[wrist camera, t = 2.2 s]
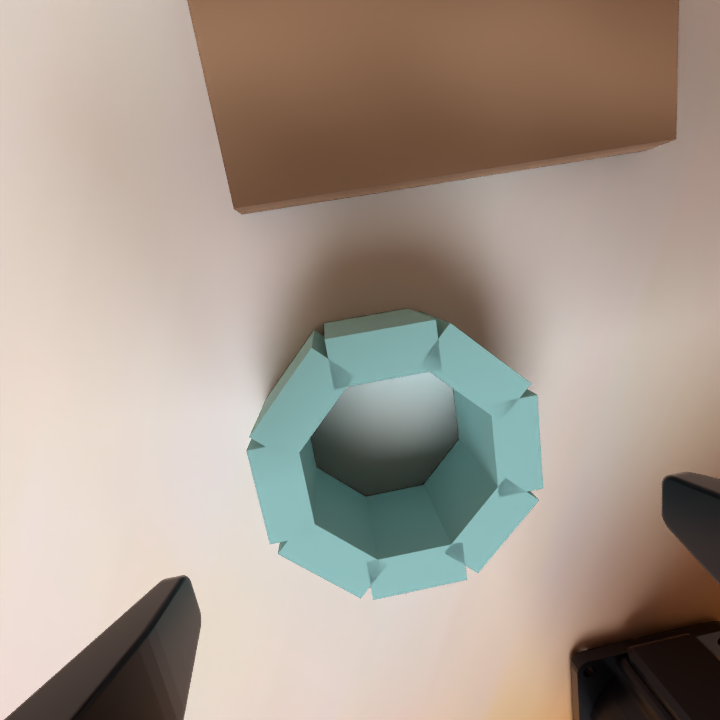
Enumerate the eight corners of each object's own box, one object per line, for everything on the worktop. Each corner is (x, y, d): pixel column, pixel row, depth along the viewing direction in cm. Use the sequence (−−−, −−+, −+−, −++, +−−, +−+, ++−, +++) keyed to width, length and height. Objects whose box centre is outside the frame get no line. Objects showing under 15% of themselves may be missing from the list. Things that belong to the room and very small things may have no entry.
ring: (500, 500, 14) (548, 562, 11) (295, 542, 13) (288, 618, 10) (480, 295, 12) (531, 302, 9) (247, 336, 12) (223, 357, 9)
